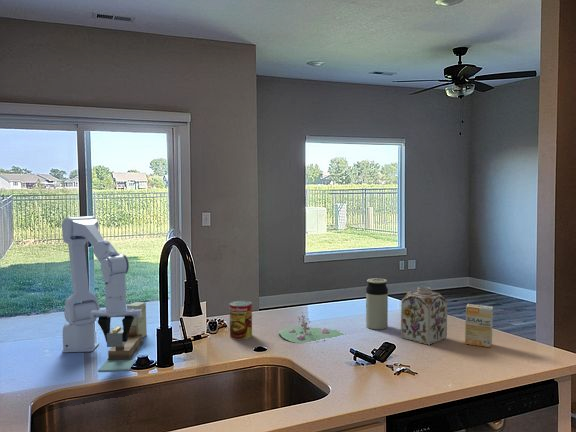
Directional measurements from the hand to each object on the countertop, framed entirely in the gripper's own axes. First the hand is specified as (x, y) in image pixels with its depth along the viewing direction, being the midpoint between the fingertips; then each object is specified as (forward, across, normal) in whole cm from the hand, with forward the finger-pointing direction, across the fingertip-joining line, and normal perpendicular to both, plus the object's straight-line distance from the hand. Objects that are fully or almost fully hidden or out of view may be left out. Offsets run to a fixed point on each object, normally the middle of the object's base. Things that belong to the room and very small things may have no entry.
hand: (117, 341), depth 147 cm
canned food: (+8, +36, +26) cm, 45 cm away
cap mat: (+8, 0, 0) cm, 8 cm away
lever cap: (+1, 0, 0) cm, 1 cm away
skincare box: (+8, -1, +28) cm, 30 cm away
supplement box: (+8, +116, +10) cm, 117 cm away
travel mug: (+8, +87, +34) cm, 94 cm away
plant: (+8, +62, +26) cm, 68 cm away
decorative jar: (+8, +100, +18) cm, 102 cm away
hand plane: (+8, -1, +14) cm, 16 cm away
